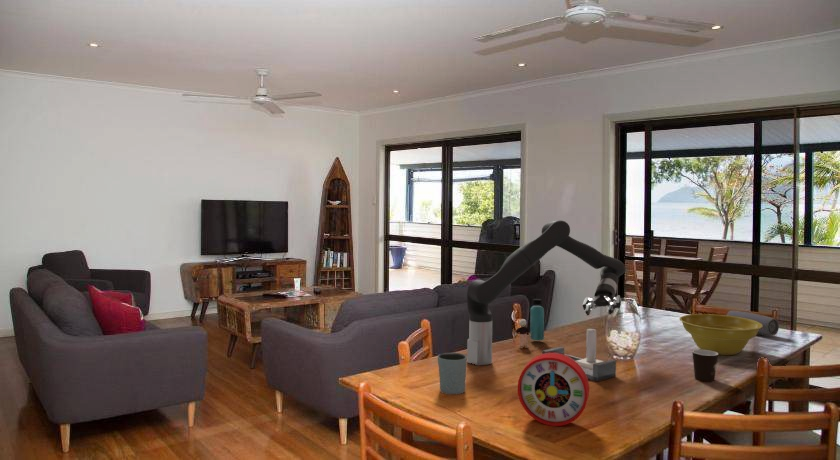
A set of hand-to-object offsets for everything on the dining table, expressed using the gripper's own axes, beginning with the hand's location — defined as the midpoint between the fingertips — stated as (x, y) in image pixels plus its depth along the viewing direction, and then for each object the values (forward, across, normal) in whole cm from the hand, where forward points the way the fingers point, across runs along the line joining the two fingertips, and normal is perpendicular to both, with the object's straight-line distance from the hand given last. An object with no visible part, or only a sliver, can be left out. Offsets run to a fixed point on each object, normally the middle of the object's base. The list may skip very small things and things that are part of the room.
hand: (598, 312), depth 227 cm
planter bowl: (-40, +34, +48) cm, 71 cm away
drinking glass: (+55, -38, -6) cm, 67 cm away
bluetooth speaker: (-84, +44, +69) cm, 117 cm away
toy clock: (+66, 0, -5) cm, 66 cm away
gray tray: (+14, -9, +17) cm, 24 cm away
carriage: (+16, -3, +15) cm, 22 cm away
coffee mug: (+3, +34, +29) cm, 45 cm away
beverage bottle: (-20, -39, +28) cm, 52 cm away
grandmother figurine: (-9, -40, +22) cm, 47 cm away
